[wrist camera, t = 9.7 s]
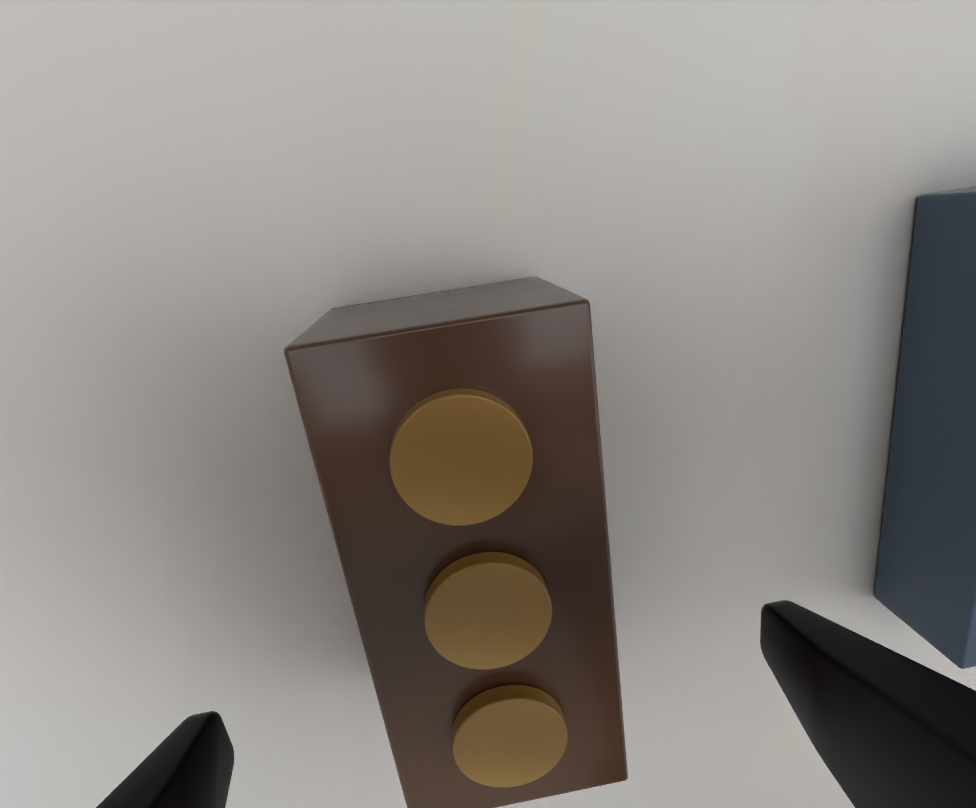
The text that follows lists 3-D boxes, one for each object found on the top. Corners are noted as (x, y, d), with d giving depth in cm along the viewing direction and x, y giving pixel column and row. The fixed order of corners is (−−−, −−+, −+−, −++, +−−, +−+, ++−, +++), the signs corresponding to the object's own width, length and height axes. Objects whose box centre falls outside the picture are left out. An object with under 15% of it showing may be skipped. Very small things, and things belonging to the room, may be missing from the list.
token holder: (578, 641, 16) (635, 799, 12) (415, 672, 16) (410, 846, 12) (539, 275, 13) (598, 301, 8) (329, 308, 13) (274, 354, 8)
